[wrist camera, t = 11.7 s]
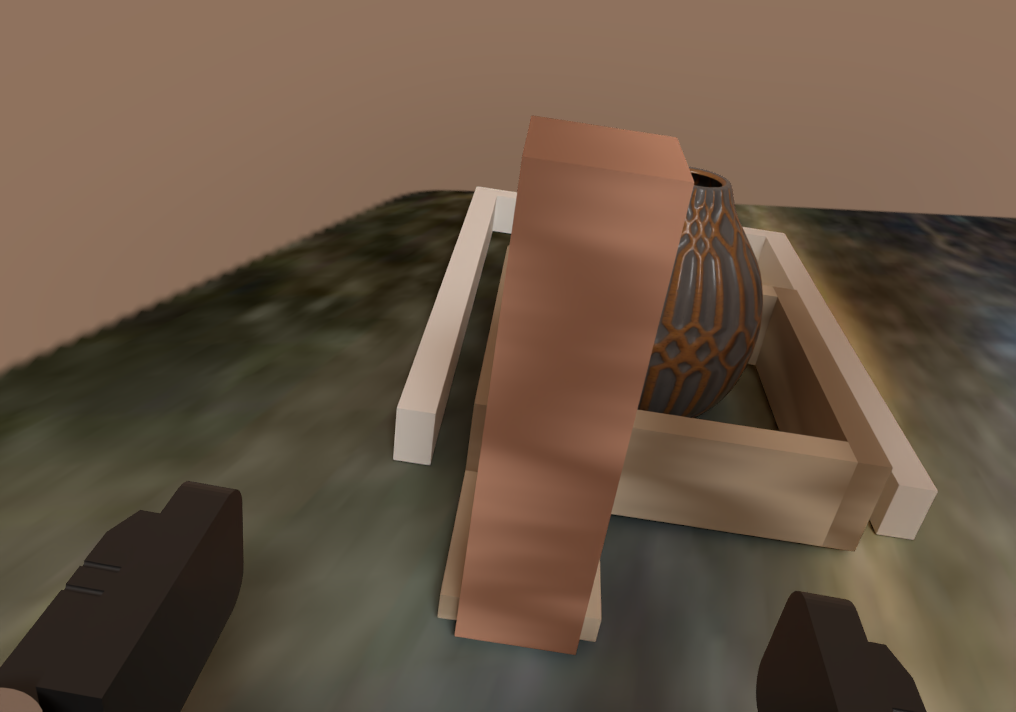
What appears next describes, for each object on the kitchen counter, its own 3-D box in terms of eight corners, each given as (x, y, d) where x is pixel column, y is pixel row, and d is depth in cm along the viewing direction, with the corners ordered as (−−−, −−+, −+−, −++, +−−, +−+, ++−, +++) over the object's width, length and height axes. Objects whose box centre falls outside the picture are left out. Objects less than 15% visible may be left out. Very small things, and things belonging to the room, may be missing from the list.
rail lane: (773, 267, 45) (784, 233, 44) (913, 539, 26) (937, 491, 25) (472, 221, 45) (476, 186, 44) (393, 459, 26) (396, 407, 25)
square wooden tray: (774, 356, 35) (871, 68, 29) (919, 707, 20) (1183, 257, 14) (498, 314, 35) (539, 18, 29) (434, 633, 20) (493, 151, 14)
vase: (545, 344, 34) (582, 136, 30) (705, 359, 35) (764, 158, 31) (561, 442, 28) (610, 200, 24) (753, 458, 29) (834, 225, 25)
